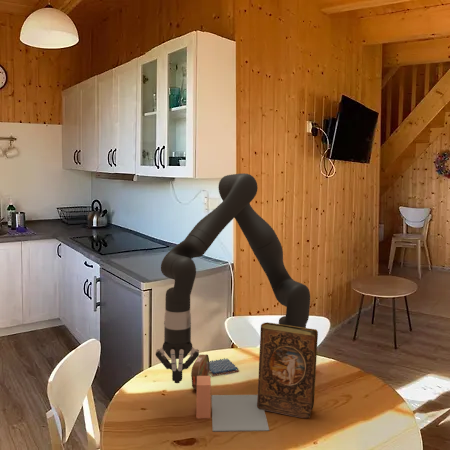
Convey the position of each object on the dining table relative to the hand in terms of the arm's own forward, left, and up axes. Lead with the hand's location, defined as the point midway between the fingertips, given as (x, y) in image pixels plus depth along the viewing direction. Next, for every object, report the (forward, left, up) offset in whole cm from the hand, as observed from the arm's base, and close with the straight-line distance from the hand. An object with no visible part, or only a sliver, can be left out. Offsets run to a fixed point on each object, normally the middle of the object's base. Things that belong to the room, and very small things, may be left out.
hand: (177, 381), depth 140 cm
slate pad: (-18, 0, -10) cm, 20 cm away
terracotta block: (-8, 0, -10) cm, 12 cm away
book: (-32, -1, -10) cm, 33 cm away
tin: (-7, -19, -10) cm, 22 cm away
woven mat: (-14, -30, -10) cm, 34 cm away
